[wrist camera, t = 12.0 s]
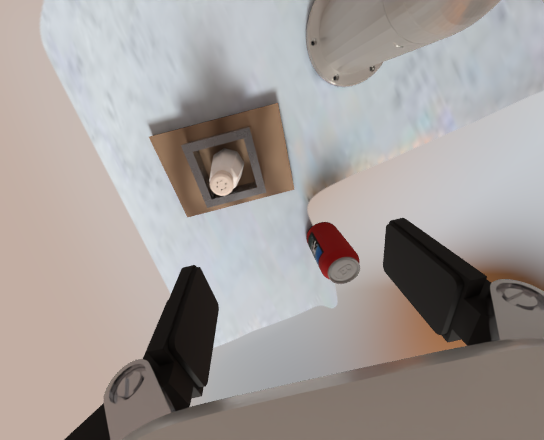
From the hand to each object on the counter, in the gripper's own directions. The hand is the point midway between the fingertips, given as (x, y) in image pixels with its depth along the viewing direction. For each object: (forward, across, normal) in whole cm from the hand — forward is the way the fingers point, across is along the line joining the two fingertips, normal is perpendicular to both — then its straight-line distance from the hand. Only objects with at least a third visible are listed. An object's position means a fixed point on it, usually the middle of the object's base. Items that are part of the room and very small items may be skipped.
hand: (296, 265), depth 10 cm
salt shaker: (+27, +6, 0) cm, 28 cm away
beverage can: (+29, -8, +19) cm, 35 cm away
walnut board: (+29, +6, 0) cm, 29 cm away
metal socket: (+27, +6, 0) cm, 28 cm away
